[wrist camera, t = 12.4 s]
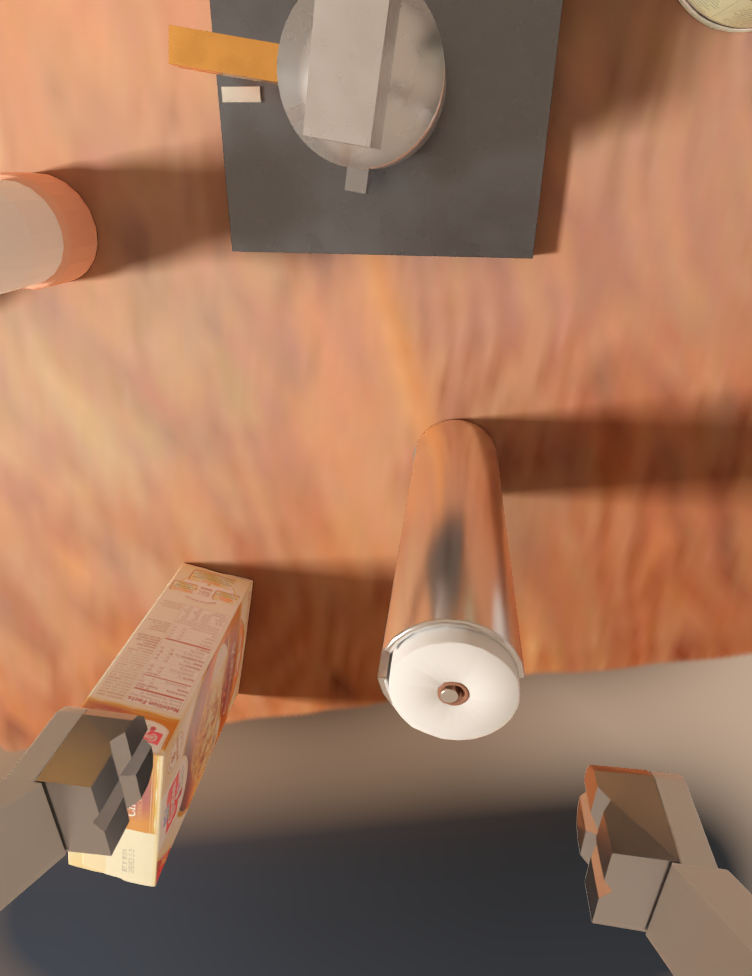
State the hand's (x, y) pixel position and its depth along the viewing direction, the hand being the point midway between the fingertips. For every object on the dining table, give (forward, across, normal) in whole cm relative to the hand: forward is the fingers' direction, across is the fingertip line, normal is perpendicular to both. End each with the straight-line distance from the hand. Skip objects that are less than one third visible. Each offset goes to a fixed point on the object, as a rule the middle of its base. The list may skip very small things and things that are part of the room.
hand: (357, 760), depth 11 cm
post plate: (+37, +4, -14) cm, 40 cm away
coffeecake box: (+37, +20, +30) cm, 52 cm away
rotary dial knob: (+32, +7, -14) cm, 35 cm away
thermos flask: (+37, -2, +10) cm, 39 cm away
